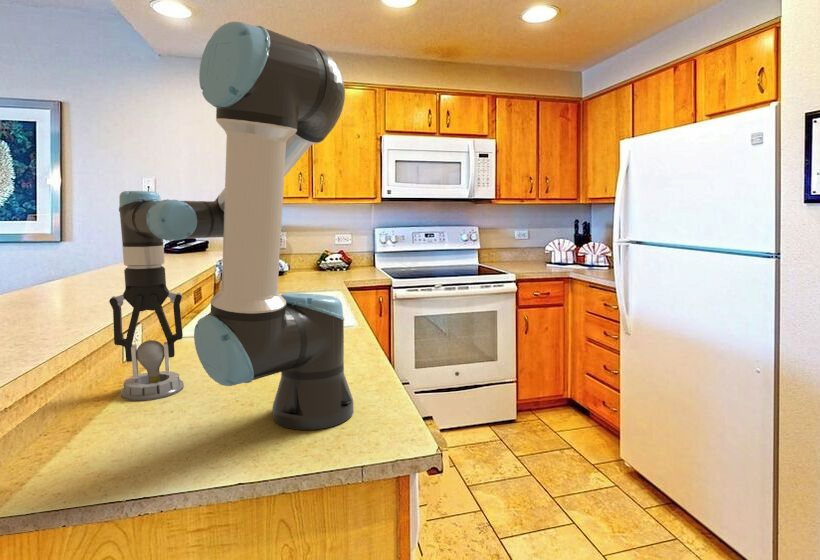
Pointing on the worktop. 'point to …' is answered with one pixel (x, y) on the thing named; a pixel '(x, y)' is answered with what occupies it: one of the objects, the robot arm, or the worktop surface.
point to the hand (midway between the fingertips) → (152, 373)
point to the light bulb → (151, 358)
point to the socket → (151, 387)
